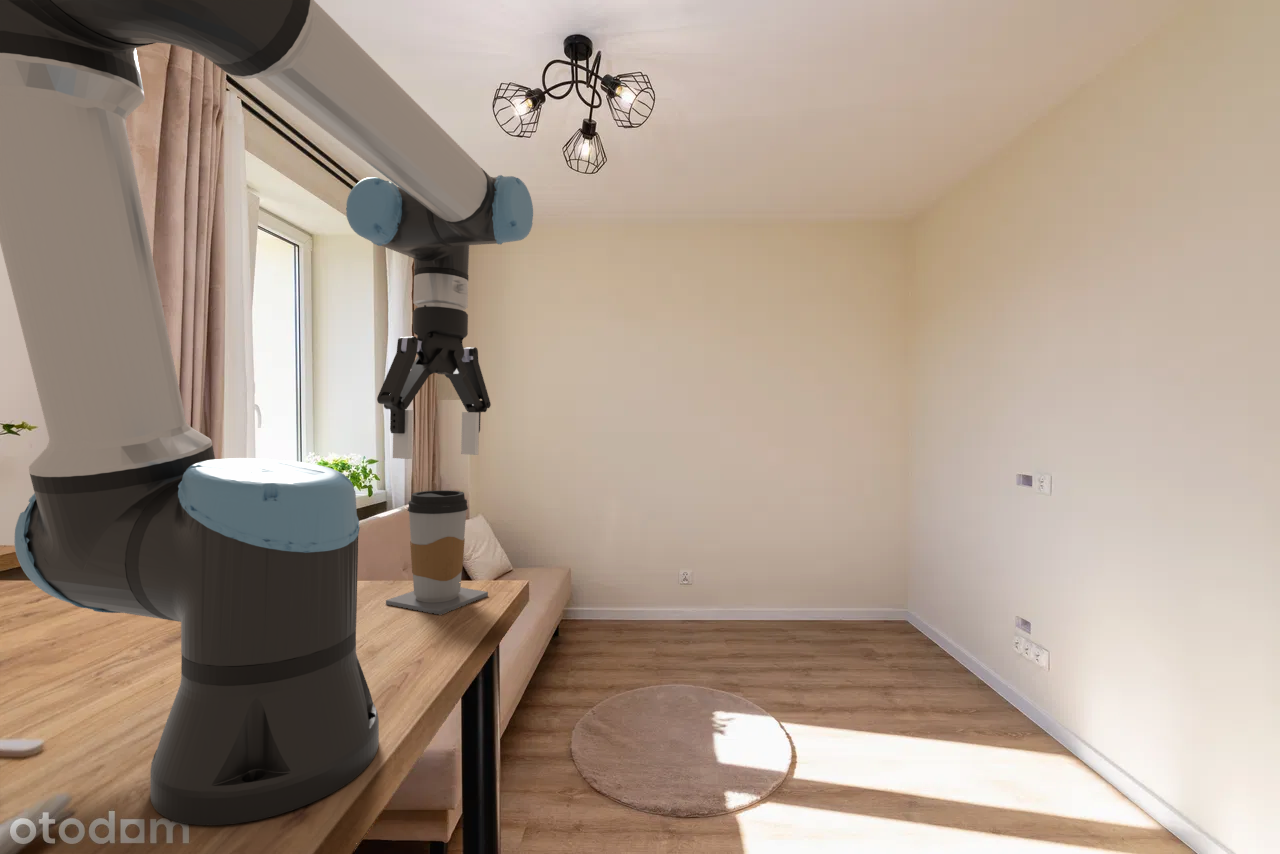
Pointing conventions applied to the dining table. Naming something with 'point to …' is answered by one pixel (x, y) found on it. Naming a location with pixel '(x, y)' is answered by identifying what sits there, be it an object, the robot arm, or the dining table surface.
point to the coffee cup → (437, 543)
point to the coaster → (437, 607)
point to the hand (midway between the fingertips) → (438, 456)
